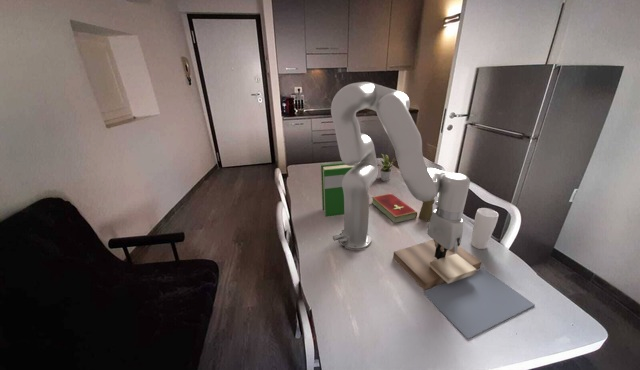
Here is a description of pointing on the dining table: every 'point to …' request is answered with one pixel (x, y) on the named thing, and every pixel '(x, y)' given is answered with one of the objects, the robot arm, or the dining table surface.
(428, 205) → the cork
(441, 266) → the birch tile
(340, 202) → the hardback book
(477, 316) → the rubber mat
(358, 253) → the dining table surface
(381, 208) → the hardcover book
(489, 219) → the drinking glass
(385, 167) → the house plant
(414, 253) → the walnut board
